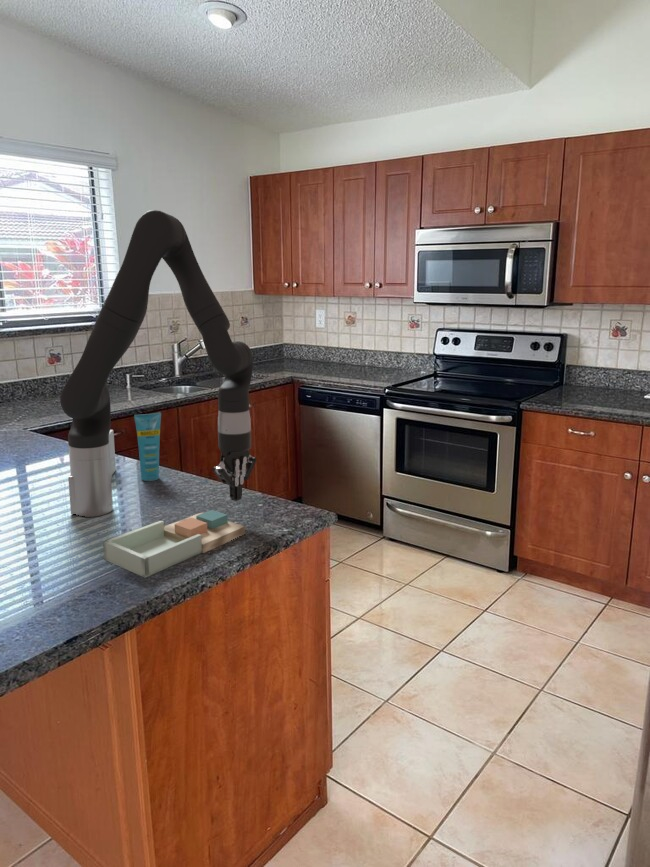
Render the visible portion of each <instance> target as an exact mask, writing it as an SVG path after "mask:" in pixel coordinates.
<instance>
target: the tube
mask: <svg viewBox="0 0 650 867" xmlns="http://www.w3.org/2000/svg"><path fill="white" fill-rule="evenodd" d="M133 415H134V416H133V417H134V423H135V428H136V436H137V444H138V447H137V448H138V454H139V456H138V457H139V467H140V477H141V478H140V479H141V481H146V482H153V481H157V480H158V479H160V439H161V437H160V436H161V421H162V412H154V413H145V414H143V413H142V414H133Z"/></svg>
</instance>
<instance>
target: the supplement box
mask: <svg viewBox="0 0 650 867" xmlns="http://www.w3.org/2000/svg"><path fill="white" fill-rule="evenodd" d="M115 449H116V448H115V433H114V429H110V432H109V452H110V468H111V477H112V476H113V475H114V473H115V472H116V471H117V468H116V467H117V466H116V453H115V452H116V451H115Z"/></svg>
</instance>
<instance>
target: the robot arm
mask: <svg viewBox="0 0 650 867" xmlns="http://www.w3.org/2000/svg"><path fill="white" fill-rule="evenodd" d="M136 221H137V222H136V223H135V225H134V227H133V231H132V233H131V237H130V240H129V243H128V246H127V249H126V252H125V255H124V257H123V258H124V259H123V261H122V263H121V266H120V269H119V270H118V272H117V274H116V276H115V278H114V280H113V283H112V285H111V288H110V290H109V292H108V294H107V297H106V298H105V300H104V302H103V304H102V307H101V309H100V310H99V313H98V315H97V318H96V320H95V322H94V325H93V328H92V329H91V333H90V334H89V337H88V340H87V342H86V344H85V347H84V349H83V352H82V355H81V356H80V359H79V361H78V363H77V364H76V366H75V368H74V370H73V371H72V373H71V375H70V376H69V378H68V379H67V380H66V383H65V384H64V386H63V387H62V389H61V393H60V398H59V403H60V406H61V410H62V411H63V413H64V414H66V416H67V417H69V418H70V419H72V422H71V426H70V429H69V432H68V434H67V445H68V456H69V457H68V459H69V468H70V475H69V476H68V477H67V478H68V492H69V506H70V515H71V514H72V515H71V516H74V515H73V514H76V515H75V516H78V515H79V516H78V517H82V516H85V517H84V518H86V517H87V518H88V517H89V518H90V517H91V518H92V517H100V516H103V515H106V514H109V513H110V512H112V511H113V510H114V506H113V505H114V503H113V487H112V486H113V485H112V476H111V468H110V452H109V432H110V430H111V426H112V421H111V420H112V417H111V397H110V396H111V395H110V391H109V388H108V385H107V381H108V379H109V377H110V375H111V373H112V371H113V369H114V367H115V366H116V365H117V364H118V363H119V361H120V360H121V359H122V357H123V356H124V354H125V353H126V352H127V351H128V349H129V348H130V346H131V345H132V343H133V342H134V340H135V338H136V337H137V334H138V333H139V331H140V328H141V326H142V324H143V322H144V320H145V317H146V315H147V314H146V313H147V310H148V304H149V295H150V286H151V281H152V278H153V276H154V274H155V271H156V270H157V267H158V266H159V263H160V262H161V260H163V261H164V262H165V263H166V265H167V266H168V267H169V268H170V270H171V272H172V273H173V275H174V278H175V279H176V281H177V283H178V286H179V289H180V292H181V295H182V298H183V302H184V304H185V308H186V309H187V312H188V313H189V316H190V317H191V319H192V321H193V323H194V324H195V327H196V329H197V330H198V331H199V333H200V334H201V337H202V340H203V345H204V348H205V350H206V355H207V356H208V360H209V361H210V363H211V365H212V367H213V368H214V369H215V370H216V372H218V373H219V374H220V375H223V376H224V379H223V383H222V384H221V385H220V386H219V387H218V391H217V399H218V400H217V402H218V403H217V404H218V413H217V414H218V415H217V437H218V438H217V440H218V449H219V451H220V458H219V461H220V462H219V464H217V466H213V467H212V472H213V473H214V474H215V475H216V476H217V478H218V479H219V480H220V481H221V483H222V484H223V485H226V486H229V498H230V500H232V501H234V502H238V501H240V500H242V497H243V484H244V482H245V481H248V480H249V478H250V477H251V474H252V472H253V469H254V467H255V464H256V462H257V457H255V456H252V455H251V454H250V453H251V452H250V449H251V448H252V436H251V435H252V428H251V427H252V426H251V424H252V423H251V422H252V421H251V414H250V393H249V392H250V391H249V390H250V386H251V383H252V382H251V381H252V374H253V369H254V358H253V353H252V349H251V347H249V345H247V344H246V343H245V342H243V341H240V340H239V341H238V340H237V341H233V340H232V339H231V336H230V334H229V331H228V330H229V329H230V326H231V323H230V320H229V317H228V316H227V314H226V313H225V311H224V309H223V307H222V306H221V304H220V301H219V300H218V298H217V297H216V295H215V294H214V292H213V290H212V288H211V286H210V284H209V282H208V281H207V279H206V277H205V275H204V274H203V271H202V269H201V267H200V265H199V264H200V263H198V260H197V258H196V256H195V252H194V249H193V248H192V244H191V242H190V240H189V237H188V233H187V232H186V229H185V227H184V225H183V223H182V222H181V221H180V220H179V219H178V218H177V217H175V216H173V215H171V214H168V213H166V212H163V211H161V210H157V209H150V210H148V211H146V212H145V213H143V214H141V216H140V217H139V219H138V220H136Z"/></svg>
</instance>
